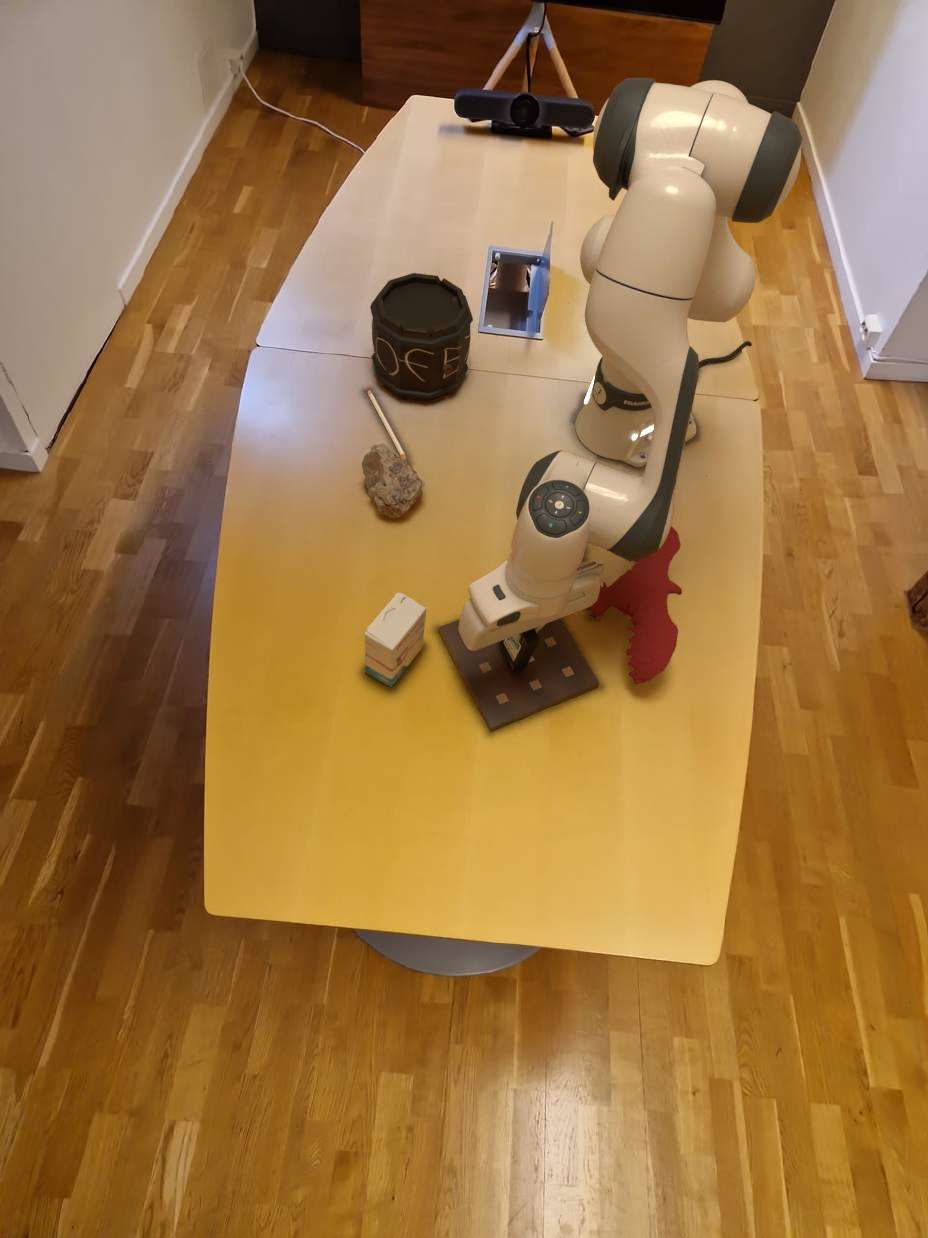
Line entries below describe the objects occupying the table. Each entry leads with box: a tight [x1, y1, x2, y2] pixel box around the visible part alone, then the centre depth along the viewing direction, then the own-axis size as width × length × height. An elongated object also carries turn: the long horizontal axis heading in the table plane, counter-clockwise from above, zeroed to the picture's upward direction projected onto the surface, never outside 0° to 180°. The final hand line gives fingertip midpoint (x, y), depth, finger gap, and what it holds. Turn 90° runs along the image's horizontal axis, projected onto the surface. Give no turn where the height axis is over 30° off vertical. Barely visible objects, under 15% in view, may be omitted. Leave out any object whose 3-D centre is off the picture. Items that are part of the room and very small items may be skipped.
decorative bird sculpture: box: [587, 525, 683, 685], centre depth 124 cm, size 28×9×15 cm
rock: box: [361, 442, 426, 519], centre depth 133 cm, size 9×12×10 cm
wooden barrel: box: [369, 272, 474, 404], centre depth 146 cm, size 18×18×16 cm
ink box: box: [364, 591, 427, 688], centre depth 116 cm, size 9×5×12 cm, turn 148°
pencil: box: [365, 387, 407, 458], centre depth 145 cm, size 1×19×1 cm, turn 24°
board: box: [437, 618, 600, 732], centre depth 122 cm, size 18×18×1 cm
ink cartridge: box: [498, 628, 540, 671], centre depth 118 cm, size 5×2×8 cm, turn 25°
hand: (523, 636), depth 117 cm, fingers closed, pressing on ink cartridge
